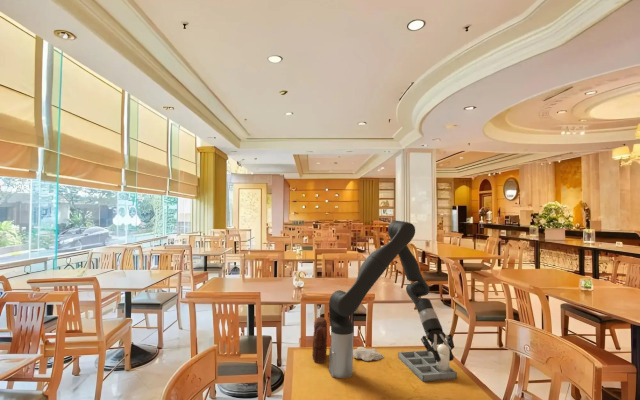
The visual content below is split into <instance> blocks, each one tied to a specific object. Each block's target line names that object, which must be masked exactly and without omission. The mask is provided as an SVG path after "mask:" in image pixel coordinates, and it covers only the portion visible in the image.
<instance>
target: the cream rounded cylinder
mask: <svg viewBox="0 0 640 400" xmlns="http://www.w3.org/2000/svg"><path fill="white" fill-rule="evenodd" d="M436 351H438V354H439V357H440V359H441V360H440V361H439V362H437V360H436V369H437V370H439V371H442V372H448V371H449V370H450V367H451V366H450V362H451V361H450V351H449V348H448V347H447V346H446V345H445V344H444V343H443V344H439V345H436Z"/></svg>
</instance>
